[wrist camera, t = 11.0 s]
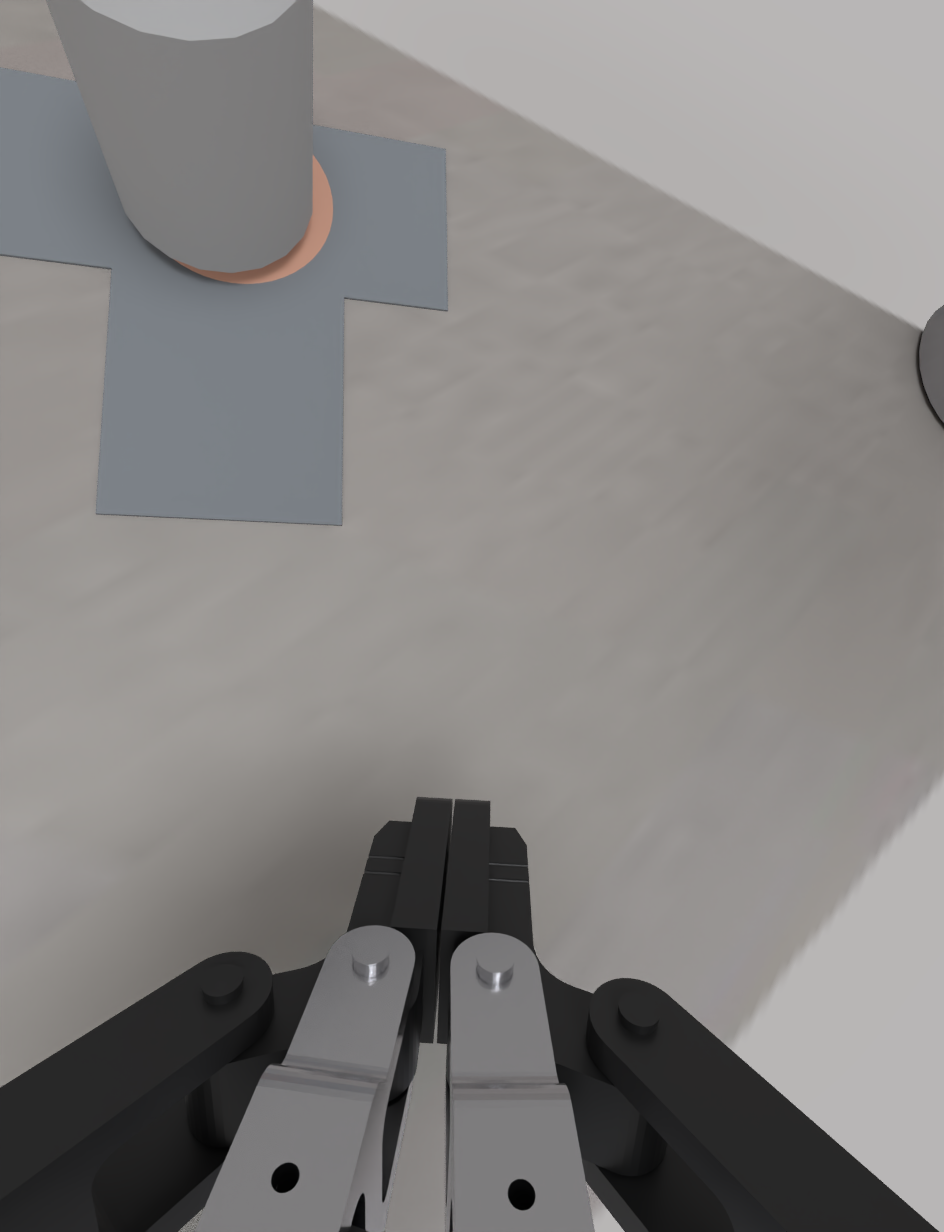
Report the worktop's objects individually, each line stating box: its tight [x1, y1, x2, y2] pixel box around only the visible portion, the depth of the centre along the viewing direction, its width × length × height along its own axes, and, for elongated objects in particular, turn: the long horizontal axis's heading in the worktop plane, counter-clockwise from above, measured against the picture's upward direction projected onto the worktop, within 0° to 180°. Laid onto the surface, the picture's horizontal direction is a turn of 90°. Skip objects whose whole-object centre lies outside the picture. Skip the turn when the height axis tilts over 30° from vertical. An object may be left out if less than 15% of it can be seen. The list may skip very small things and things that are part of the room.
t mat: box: [0, 67, 448, 526], centre depth 27 cm, size 18×18×1 cm
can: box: [46, 0, 313, 273], centre depth 22 cm, size 8×8×12 cm
